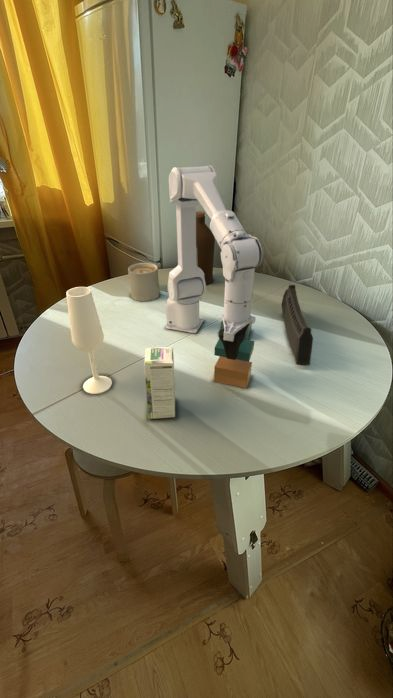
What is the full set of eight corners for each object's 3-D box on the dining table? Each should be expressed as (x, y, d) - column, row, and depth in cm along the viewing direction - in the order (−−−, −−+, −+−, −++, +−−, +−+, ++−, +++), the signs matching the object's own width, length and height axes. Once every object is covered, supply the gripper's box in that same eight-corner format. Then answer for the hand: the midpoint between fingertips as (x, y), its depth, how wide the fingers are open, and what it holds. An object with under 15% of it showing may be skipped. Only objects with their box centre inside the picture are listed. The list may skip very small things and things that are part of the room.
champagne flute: (87, 375, 87) (67, 284, 73) (114, 375, 87) (99, 285, 73) (79, 393, 81) (55, 298, 68) (108, 394, 81) (90, 299, 68)
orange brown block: (214, 374, 83) (214, 366, 82) (219, 363, 87) (219, 356, 86) (247, 380, 81) (248, 373, 80) (251, 369, 85) (252, 362, 84)
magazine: (317, 344, 81) (301, 264, 100) (303, 344, 82) (290, 263, 100) (302, 385, 95) (290, 307, 114) (290, 385, 95) (280, 307, 114)
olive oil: (203, 272, 142) (203, 207, 128) (219, 281, 134) (221, 213, 120) (180, 279, 137) (178, 211, 123) (196, 288, 129) (196, 217, 115)
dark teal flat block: (214, 355, 80) (214, 347, 79) (220, 343, 84) (220, 335, 83) (249, 361, 78) (249, 353, 77) (253, 348, 82) (254, 340, 81)
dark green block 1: (220, 329, 101) (220, 322, 99) (225, 320, 105) (225, 313, 104) (248, 333, 99) (248, 327, 97) (251, 324, 103) (252, 317, 102)
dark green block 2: (220, 335, 102) (220, 329, 101) (224, 326, 106) (225, 320, 105) (247, 340, 100) (248, 333, 99) (251, 331, 104) (251, 324, 103)
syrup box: (149, 401, 79) (143, 347, 71) (175, 399, 79) (173, 346, 71) (148, 419, 74) (142, 364, 66) (176, 417, 75) (173, 362, 66)
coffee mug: (159, 300, 121) (157, 272, 115) (130, 302, 120) (127, 274, 115) (159, 284, 132) (157, 258, 126) (132, 286, 131) (129, 259, 126)
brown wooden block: (213, 381, 85) (214, 374, 83) (218, 370, 88) (219, 363, 87) (246, 388, 83) (247, 380, 81) (250, 376, 86) (251, 369, 85)
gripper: (250, 316, 67) (244, 373, 74) (263, 286, 78) (257, 338, 86) (214, 311, 68) (212, 366, 76) (231, 282, 80) (228, 333, 87)
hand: (234, 351), depth 81 cm, fingers closed on dark teal flat block, 5 cm apart
